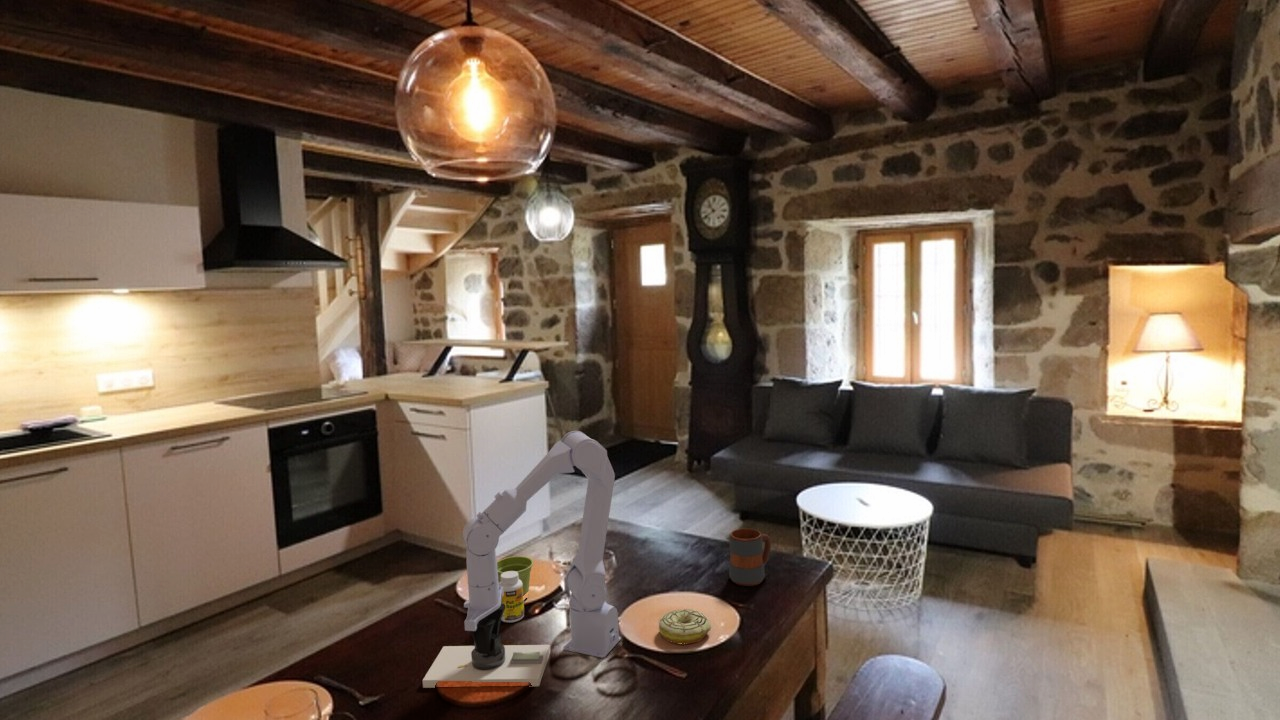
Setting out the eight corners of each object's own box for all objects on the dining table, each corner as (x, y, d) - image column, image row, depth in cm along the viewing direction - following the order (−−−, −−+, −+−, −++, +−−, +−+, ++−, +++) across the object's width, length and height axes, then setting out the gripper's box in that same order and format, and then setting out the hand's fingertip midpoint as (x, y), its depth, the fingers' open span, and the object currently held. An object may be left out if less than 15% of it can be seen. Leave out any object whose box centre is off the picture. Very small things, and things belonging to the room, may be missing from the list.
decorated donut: (720, 633, 144) (720, 616, 144) (684, 653, 137) (684, 635, 137) (685, 616, 152) (684, 600, 152) (649, 634, 145) (649, 617, 145)
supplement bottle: (505, 626, 151) (502, 581, 150) (495, 616, 155) (492, 573, 154) (528, 618, 154) (525, 575, 153) (518, 609, 158) (515, 567, 157)
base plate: (550, 651, 140) (549, 635, 139) (539, 686, 128) (538, 668, 127) (444, 653, 141) (442, 637, 140) (423, 687, 129) (421, 670, 128)
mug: (782, 577, 169) (781, 531, 168) (744, 590, 163) (743, 543, 162) (759, 565, 177) (758, 522, 175) (722, 577, 171) (721, 532, 169)
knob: (512, 657, 135) (510, 629, 134) (489, 673, 130) (487, 645, 129) (488, 648, 138) (486, 622, 138) (464, 664, 133) (462, 636, 132)
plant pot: (527, 608, 159) (525, 572, 158) (489, 607, 160) (486, 571, 159) (540, 590, 168) (538, 556, 167) (503, 589, 169) (501, 555, 168)
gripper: (478, 564, 140) (483, 627, 141) (447, 597, 126) (452, 667, 127) (511, 565, 139) (515, 629, 140) (483, 598, 124) (488, 669, 126)
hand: (487, 647), depth 134 cm, fingers closed on knob, 3 cm apart
